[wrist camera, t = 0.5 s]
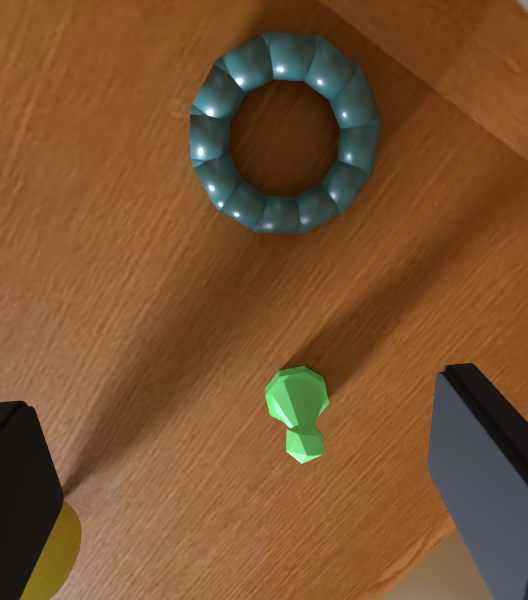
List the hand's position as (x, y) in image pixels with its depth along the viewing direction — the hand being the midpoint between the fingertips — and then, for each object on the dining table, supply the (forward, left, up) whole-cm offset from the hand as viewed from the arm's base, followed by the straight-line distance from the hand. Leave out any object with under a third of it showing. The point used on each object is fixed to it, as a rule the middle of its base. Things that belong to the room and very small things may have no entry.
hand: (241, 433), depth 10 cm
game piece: (+10, +4, -17) cm, 20 cm away
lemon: (+20, -13, -17) cm, 29 cm away
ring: (-6, +2, -16) cm, 17 cm away
